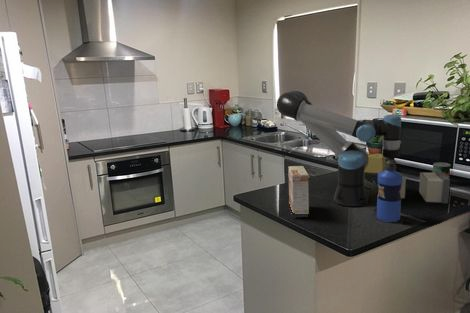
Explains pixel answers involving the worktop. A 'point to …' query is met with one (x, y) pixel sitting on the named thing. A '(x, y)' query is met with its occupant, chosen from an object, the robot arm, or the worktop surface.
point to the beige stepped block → (434, 186)
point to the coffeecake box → (298, 190)
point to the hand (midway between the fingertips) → (389, 191)
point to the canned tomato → (442, 168)
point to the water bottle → (389, 193)
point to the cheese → (375, 163)
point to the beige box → (403, 187)
